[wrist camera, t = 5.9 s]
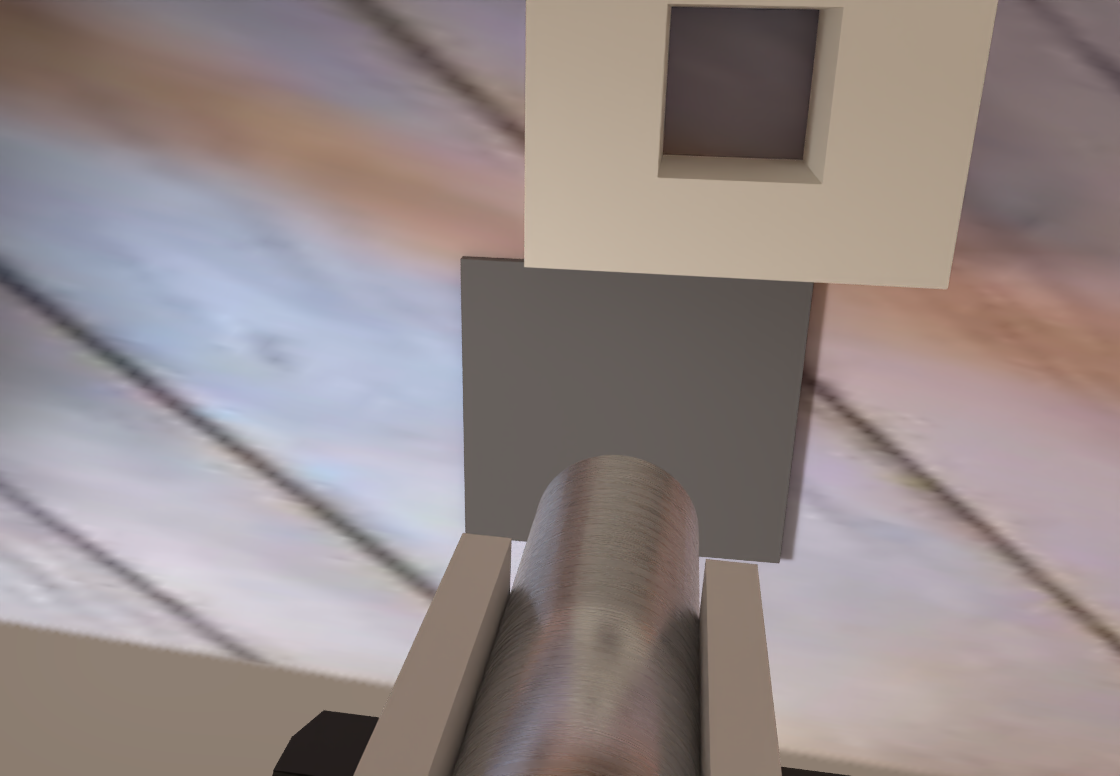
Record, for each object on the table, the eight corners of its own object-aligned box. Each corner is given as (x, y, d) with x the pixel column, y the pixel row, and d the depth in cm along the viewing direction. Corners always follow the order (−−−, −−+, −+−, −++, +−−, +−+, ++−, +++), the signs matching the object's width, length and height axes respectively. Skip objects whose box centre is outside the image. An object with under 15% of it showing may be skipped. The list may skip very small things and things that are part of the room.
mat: (467, 530, 37) (465, 536, 37) (463, 256, 33) (460, 259, 33) (778, 557, 36) (779, 563, 35) (812, 274, 32) (813, 277, 31)
